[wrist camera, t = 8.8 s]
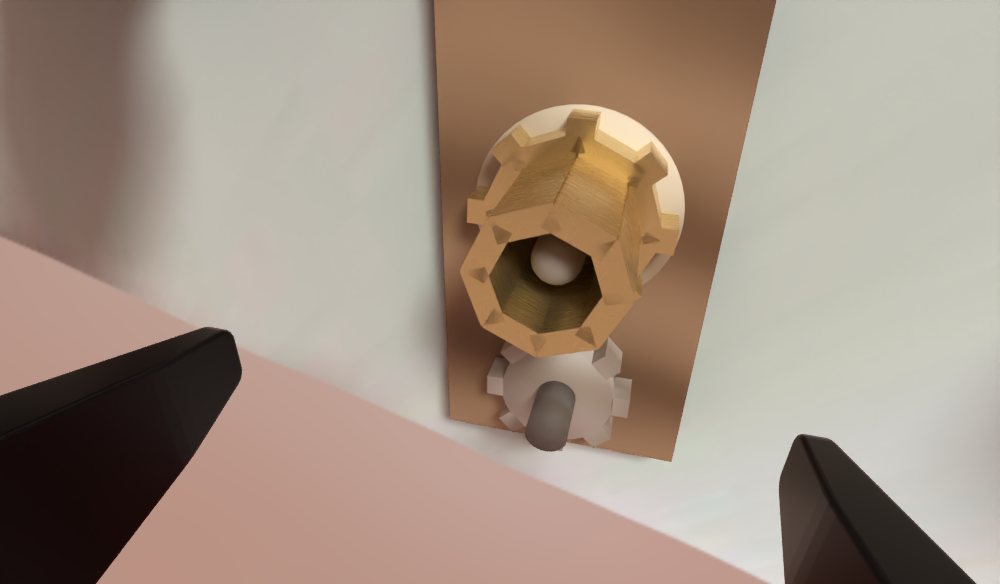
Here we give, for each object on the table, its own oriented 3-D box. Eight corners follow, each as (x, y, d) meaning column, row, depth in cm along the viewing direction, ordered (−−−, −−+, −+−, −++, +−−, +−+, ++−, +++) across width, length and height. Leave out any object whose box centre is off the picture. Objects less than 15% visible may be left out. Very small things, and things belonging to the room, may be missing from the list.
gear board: (671, 435, 23) (671, 556, 18) (461, 396, 25) (411, 497, 20) (799, -147, 14) (868, -208, 9) (447, -138, 16) (350, -185, 11)
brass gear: (513, 309, 20) (473, 398, 16) (454, 143, 18) (387, 197, 14) (692, 279, 18) (698, 374, 14) (651, 85, 16) (645, 128, 11)
